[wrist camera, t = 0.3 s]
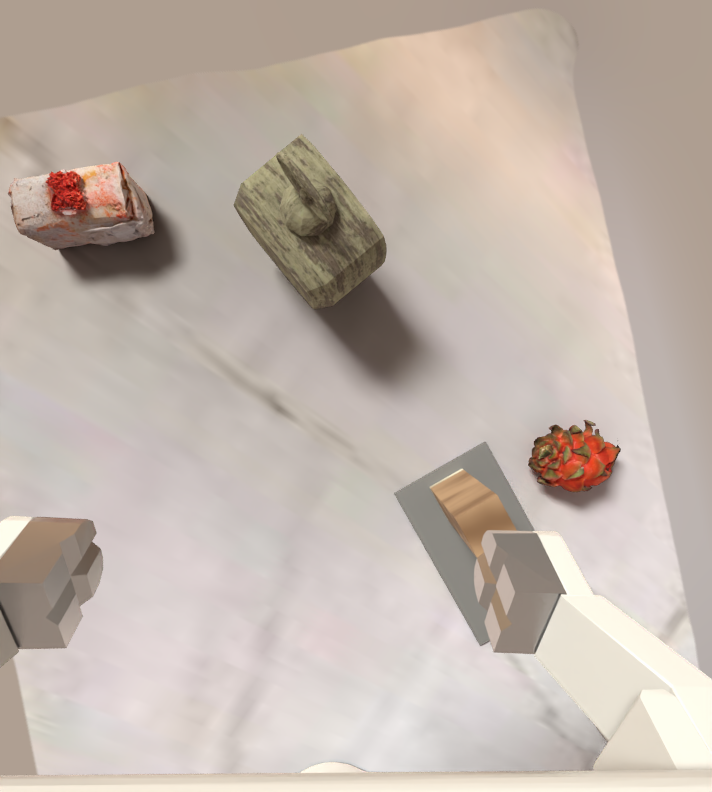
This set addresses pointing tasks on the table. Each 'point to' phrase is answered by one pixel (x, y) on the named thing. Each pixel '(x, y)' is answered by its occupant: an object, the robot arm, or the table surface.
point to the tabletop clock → (310, 224)
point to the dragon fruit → (573, 458)
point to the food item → (81, 207)
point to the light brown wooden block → (471, 508)
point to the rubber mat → (444, 539)
